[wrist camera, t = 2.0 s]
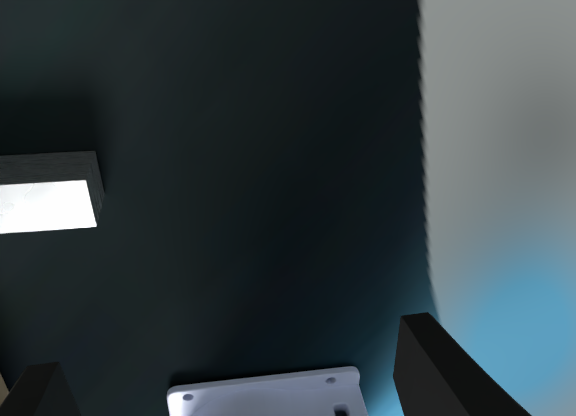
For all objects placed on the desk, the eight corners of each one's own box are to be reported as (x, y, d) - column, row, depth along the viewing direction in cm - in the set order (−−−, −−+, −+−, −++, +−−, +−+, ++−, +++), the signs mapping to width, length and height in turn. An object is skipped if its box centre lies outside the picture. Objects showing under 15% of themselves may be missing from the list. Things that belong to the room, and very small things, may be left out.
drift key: (95, 150, 18) (85, 180, 17) (104, 194, 19) (96, 226, 18) (-93, 160, 17) (-123, 192, 16) (-74, 205, 18) (-99, 240, 17)
